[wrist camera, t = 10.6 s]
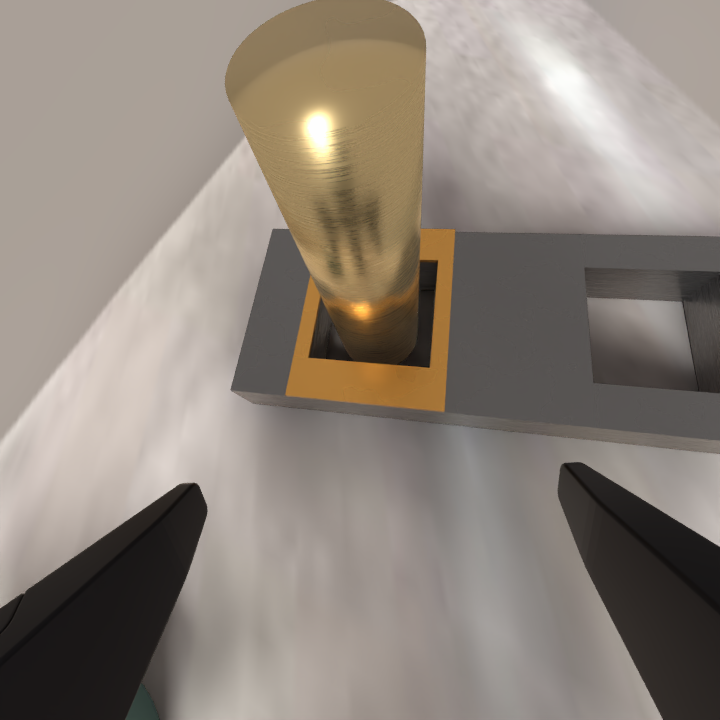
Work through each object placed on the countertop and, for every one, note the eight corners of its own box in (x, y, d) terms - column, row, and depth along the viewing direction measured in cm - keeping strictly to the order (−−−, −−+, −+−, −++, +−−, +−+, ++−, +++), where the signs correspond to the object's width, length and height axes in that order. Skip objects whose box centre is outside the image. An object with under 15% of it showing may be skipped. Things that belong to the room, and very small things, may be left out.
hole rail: (756, 272, 17) (814, 235, 15) (807, 463, 15) (889, 456, 12) (287, 257, 22) (271, 226, 19) (253, 403, 19) (228, 389, 16)
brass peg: (381, 384, 18) (320, 166, 6) (327, 337, 19) (187, 82, 7) (433, 328, 19) (471, 33, 7) (377, 286, 20) (323, -24, 8)
